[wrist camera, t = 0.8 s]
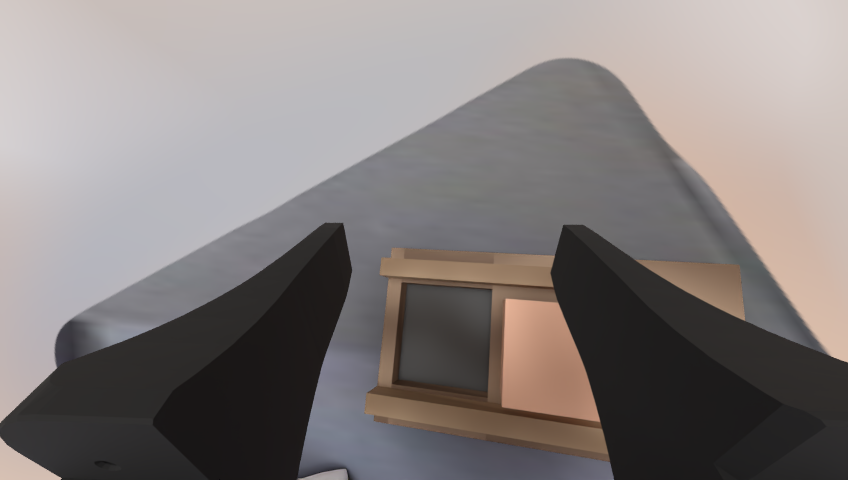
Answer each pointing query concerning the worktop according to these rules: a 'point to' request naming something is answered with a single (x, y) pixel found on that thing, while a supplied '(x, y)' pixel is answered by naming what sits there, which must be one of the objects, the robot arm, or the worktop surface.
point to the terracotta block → (542, 363)
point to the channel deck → (488, 343)
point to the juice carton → (329, 475)
